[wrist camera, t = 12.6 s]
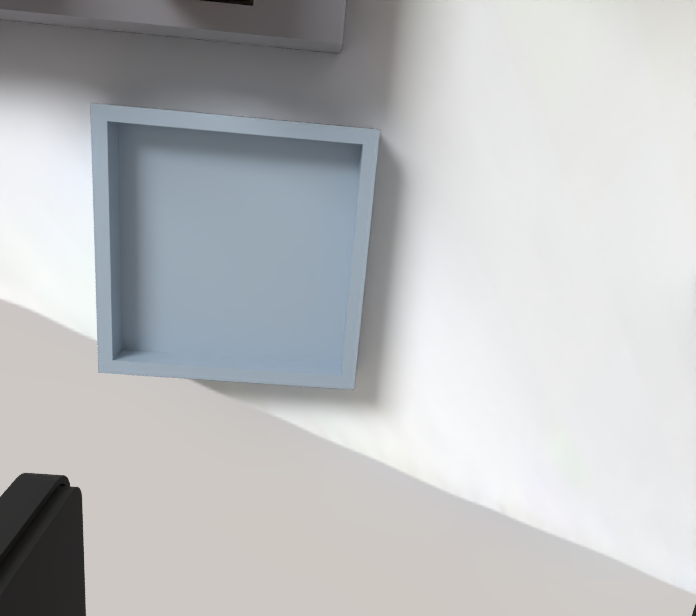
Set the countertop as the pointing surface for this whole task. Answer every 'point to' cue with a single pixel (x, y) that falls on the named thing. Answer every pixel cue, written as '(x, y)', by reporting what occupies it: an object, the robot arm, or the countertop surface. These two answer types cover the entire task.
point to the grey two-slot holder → (198, 19)
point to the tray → (230, 245)
